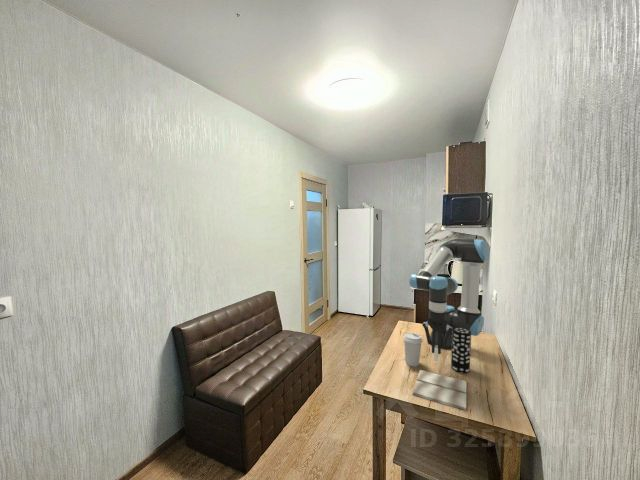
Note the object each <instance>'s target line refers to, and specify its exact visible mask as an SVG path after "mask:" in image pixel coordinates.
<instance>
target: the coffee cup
mask: <svg viewBox="0 0 640 480" xmlns="http://www.w3.org/2000/svg"><path fill="white" fill-rule="evenodd" d="M402 340H403V342H404V357H405V359H404V360H405V364H406V365H408V366H409V367H418V366H419V365H420V358H421V357H420V356H421V349H422V343H423V342H424V341H423V338H422V336H421V335H420V334H418V333H415V332H407V333H405V334H404V335H403V339H402Z"/></svg>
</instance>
